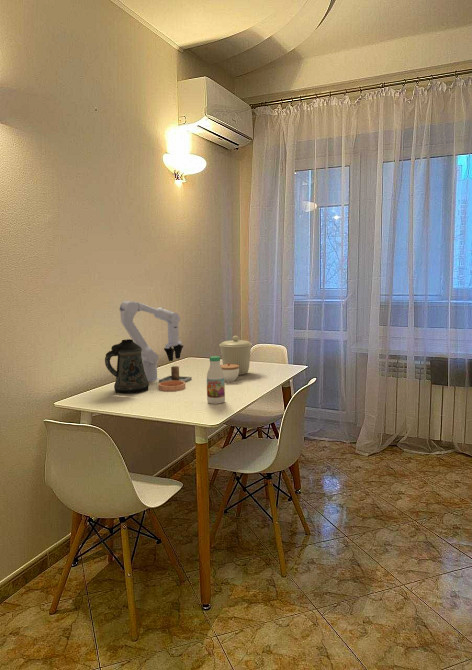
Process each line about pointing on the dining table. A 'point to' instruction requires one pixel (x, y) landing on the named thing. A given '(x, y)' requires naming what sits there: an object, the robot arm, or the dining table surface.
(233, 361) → the canister
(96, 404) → the dining table surface
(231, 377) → the lidded jar
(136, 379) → the beer stein
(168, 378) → the slate tray
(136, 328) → the robot arm
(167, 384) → the terracotta bowl
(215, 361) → the milk bottle
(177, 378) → the walnut peg
